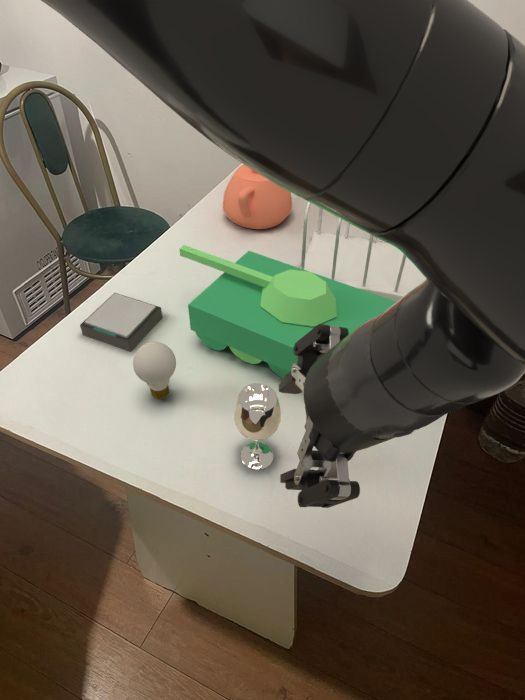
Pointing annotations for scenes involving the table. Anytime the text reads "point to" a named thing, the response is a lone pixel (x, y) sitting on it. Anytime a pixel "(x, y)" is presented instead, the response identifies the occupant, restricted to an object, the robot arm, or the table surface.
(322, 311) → the toy tank
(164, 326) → the table surface
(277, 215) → the teapot
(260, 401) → the wineglass
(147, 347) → the light bulb
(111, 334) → the kitchen scale
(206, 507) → the table surface
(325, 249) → the file sorter
